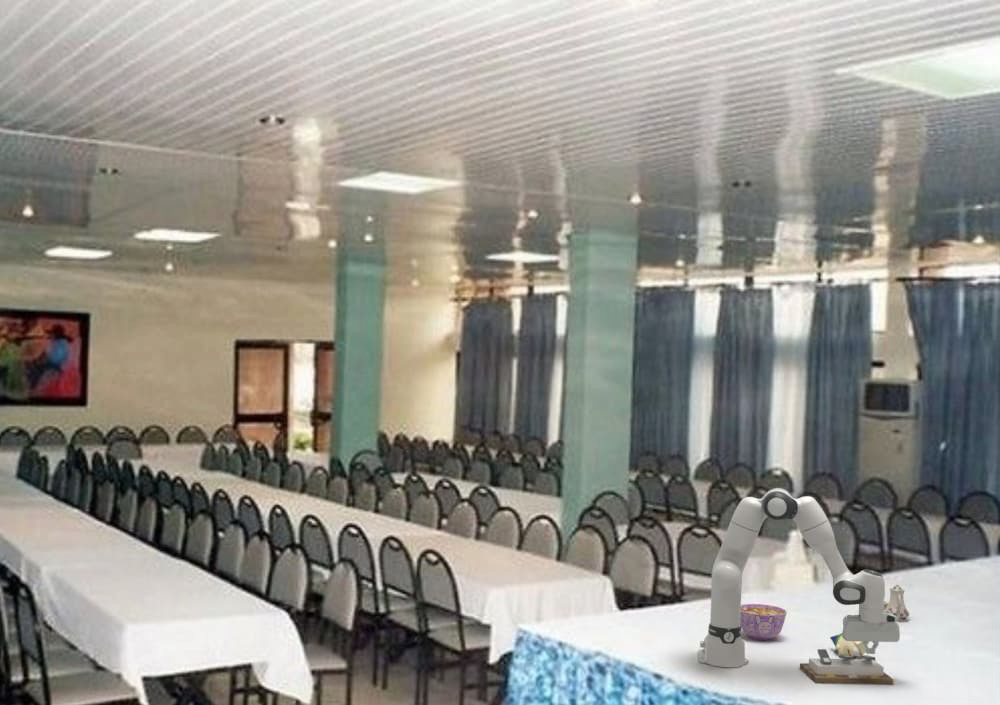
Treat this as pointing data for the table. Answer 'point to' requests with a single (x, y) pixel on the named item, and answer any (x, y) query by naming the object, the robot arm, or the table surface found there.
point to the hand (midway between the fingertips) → (870, 653)
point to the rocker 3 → (867, 657)
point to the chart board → (845, 677)
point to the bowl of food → (762, 620)
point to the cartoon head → (848, 646)
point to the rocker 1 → (824, 657)
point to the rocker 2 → (846, 657)
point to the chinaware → (896, 604)
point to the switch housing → (846, 667)
